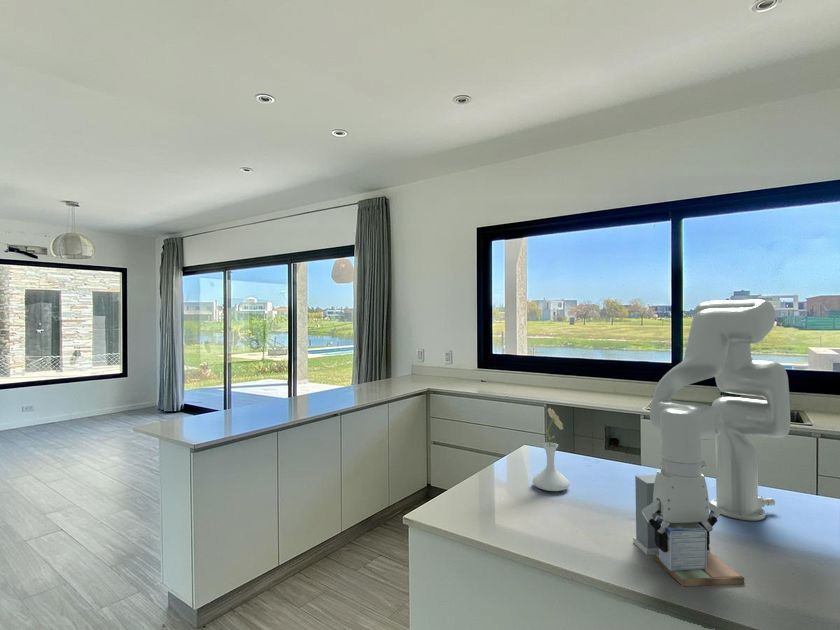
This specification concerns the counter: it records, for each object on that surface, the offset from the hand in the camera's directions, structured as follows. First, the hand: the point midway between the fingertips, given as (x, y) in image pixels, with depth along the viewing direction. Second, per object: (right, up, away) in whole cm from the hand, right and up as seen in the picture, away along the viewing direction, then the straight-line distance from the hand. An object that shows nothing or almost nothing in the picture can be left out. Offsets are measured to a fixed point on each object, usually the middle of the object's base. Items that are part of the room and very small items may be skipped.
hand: (682, 548), depth 96 cm
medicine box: (0, -4, 0) cm, 4 cm away
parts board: (+3, -5, 0) cm, 6 cm away
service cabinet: (+3, -5, +10) cm, 12 cm away
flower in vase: (-14, -6, +49) cm, 51 cm away
